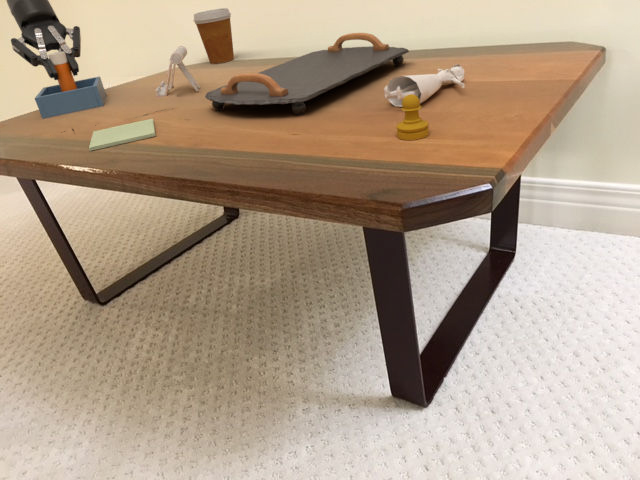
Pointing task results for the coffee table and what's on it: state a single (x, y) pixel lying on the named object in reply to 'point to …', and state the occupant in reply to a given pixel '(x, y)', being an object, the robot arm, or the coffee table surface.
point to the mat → (122, 134)
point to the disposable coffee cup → (216, 34)
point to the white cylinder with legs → (175, 59)
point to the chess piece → (412, 120)
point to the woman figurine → (422, 84)
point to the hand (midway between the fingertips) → (66, 74)
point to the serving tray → (306, 75)
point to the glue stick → (63, 71)
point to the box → (71, 98)
